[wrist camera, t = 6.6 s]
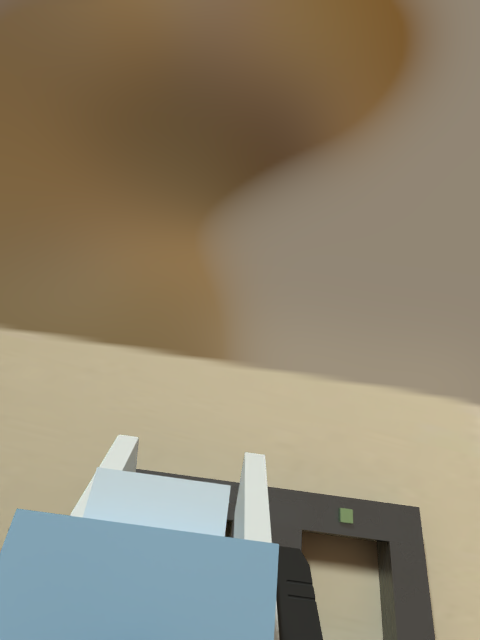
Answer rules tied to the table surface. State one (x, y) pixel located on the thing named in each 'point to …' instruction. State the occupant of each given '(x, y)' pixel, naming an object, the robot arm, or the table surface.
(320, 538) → the table surface
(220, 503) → the plug
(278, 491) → the port panel
